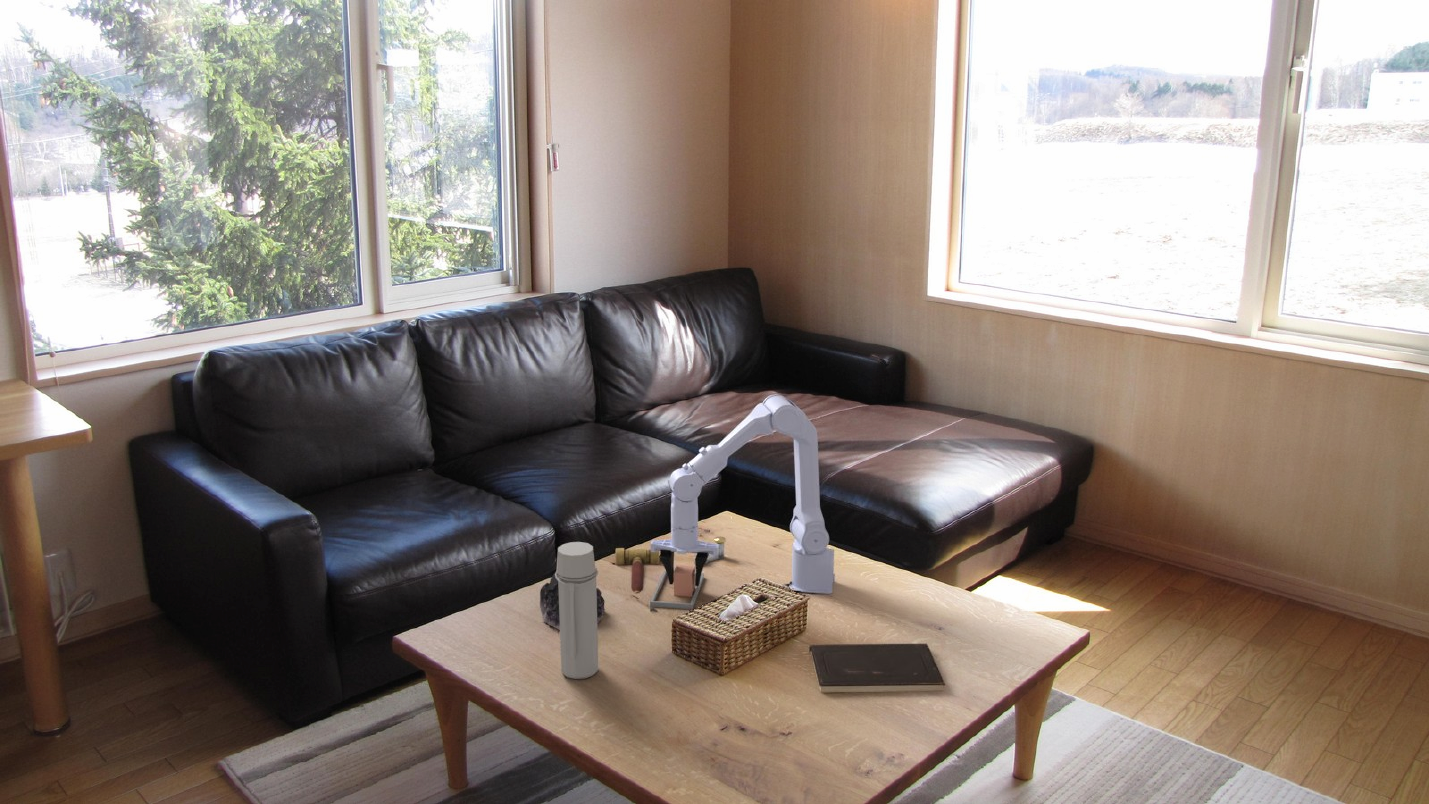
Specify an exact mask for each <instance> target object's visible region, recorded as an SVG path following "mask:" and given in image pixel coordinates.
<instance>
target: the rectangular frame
mask: <svg viewBox="0 0 1429 804" xmlns="http://www.w3.org/2000/svg"><path fill="white" fill-rule="evenodd" d="M667 577H668V575H667V572H666V570H663V573H662V575H661V578H660V580H659V582H658V584H657V587H656V588H655V590H654V592H653V595H652V597H651V599H650V602H649V610H650V611H649V612H652V611H658V610H657V609H655V608H670V609H684V610H693V609H694V606H695V603H696V600H697V598H698V596H699V592H700V590H701V587H702V584H703V581H704V580H705V572H704V573H701V578H700V584H699V586H695V591H694V594H693V596H692V597H691V601H690V603H689V602H688V603H687V602H674V601H673V602H671V601H659V600H657V598H658V596H659V592H660V591H661V589H662V587H663V584H664V582H665V580H666V578H667ZM695 578H696V572H695ZM654 607H655V608H654Z"/></svg>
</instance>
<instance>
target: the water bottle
mask: <svg viewBox="0 0 1429 804" xmlns="http://www.w3.org/2000/svg"><path fill="white" fill-rule="evenodd" d="M554 573H555V577H556V579H557V580H558V587H559V616H560V630H559V639H560V642H559V643H560V670H561V673H562V674H563V675H564V676H565V677H566V678H568V679H574V680H582V679H588V678H589V677H590V678H591V677H593V676H594V675H595V674H596V673H597V672H598V671H599V642H598V641H599V638H598V637H599V636H598V622H597V592H596V588H597V577H598V575H599V570H598V568H597V567H596V563H595V554H594V546H593V545H591V544H590V543H588V542H581V541H572V542H567V543H564V544H561V545H560V546H558V547H557V558H556V571H555V572H554ZM557 574H558V577H557Z"/></svg>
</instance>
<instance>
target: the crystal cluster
mask: <svg viewBox="0 0 1429 804" xmlns="http://www.w3.org/2000/svg"><path fill="white" fill-rule="evenodd" d="M555 573H556V572H554V574H552V577H551V578H550V580H549V582H546V583H545V584H544V585H542V587H541V588H540V591H539V608H540V612H541V615H542V619H543V620H542V621H543V623H545V624H548V626H551V627H553V628H554V629H557V630H558V629H559V630H558V631H560V616H559V587H558V580H557V579H556V577H555ZM557 577H558V574H557ZM596 592H597V623H599V622H600V621H601V620H602V618H603V615H604V614H605V612H606V609H605V599H604V597H603V595H602V591H601V589H600V588H599V587H596Z"/></svg>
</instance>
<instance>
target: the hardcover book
mask: <svg viewBox="0 0 1429 804" xmlns="http://www.w3.org/2000/svg"><path fill="white" fill-rule="evenodd" d="M809 652H810V654H811V659H812V662H813V666H814V667H813V668H814V670H815V675H816V676H815V677H816V678H817V683H818V688H819V691H820V693H862V692H864V693H867V692H869V693H870V692H872V693H874V692H883V693H885V692H943V691H944V686H945V685H946V683H945V681H944V679H943V676H942V674H941V671H940V670H939V667H938V666H937V665H938V664H937V663H936V661H935V659H934V656H933V654H932V651H931V650H930V648H929V645H928V643H927V642H926V643H853V644H852V643H850V644H849V643H847V644H846V643H844V644H843V643H841V644H839V643H838V644H837V643H836V644H835V643H834V644H831V643H829V644H828V643H827V644H809Z"/></svg>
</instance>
